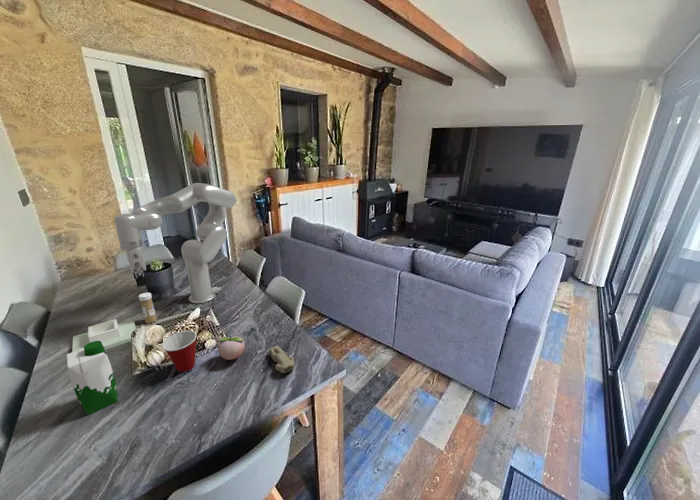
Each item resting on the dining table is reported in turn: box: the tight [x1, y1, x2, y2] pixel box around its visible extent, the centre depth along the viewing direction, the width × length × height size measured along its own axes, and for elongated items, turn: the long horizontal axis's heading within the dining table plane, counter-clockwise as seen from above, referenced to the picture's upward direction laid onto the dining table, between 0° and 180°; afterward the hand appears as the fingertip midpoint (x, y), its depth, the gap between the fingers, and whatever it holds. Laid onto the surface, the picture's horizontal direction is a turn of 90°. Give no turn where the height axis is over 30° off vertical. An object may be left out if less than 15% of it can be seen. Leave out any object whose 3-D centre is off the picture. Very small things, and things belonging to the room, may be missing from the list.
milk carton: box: [66, 341, 119, 416], centre depth 86 cm, size 9×9×20 cm
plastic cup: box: [161, 329, 197, 373], centre depth 102 cm, size 11×11×12 cm
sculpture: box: [269, 344, 296, 374], centre depth 105 cm, size 7×5×15 cm
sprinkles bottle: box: [138, 292, 158, 324], centre depth 128 cm, size 5×5×13 cm
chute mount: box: [71, 318, 137, 353], centre depth 117 cm, size 20×16×6 cm
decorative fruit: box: [217, 335, 246, 361], centre depth 106 cm, size 9×8×10 cm
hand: (140, 281), depth 124 cm, fingers open, 9 cm apart
